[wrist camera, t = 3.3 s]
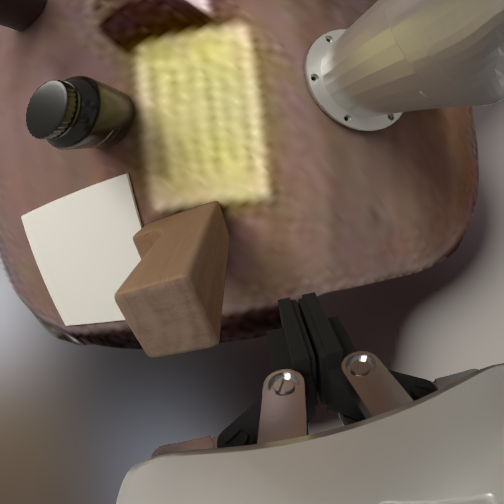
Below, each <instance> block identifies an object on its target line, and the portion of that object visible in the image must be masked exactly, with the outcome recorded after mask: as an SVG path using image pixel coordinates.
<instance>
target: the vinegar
mask: <svg viewBox="0 0 504 504" xmlns="http://www.w3.org/2000/svg"><path fill="white" fill-rule="evenodd" d="M45 2H46V0H0V25H3V26H6V27H9V28H12V29H15V30H18V31H20V30H23V29H25V28H26V27H28V26H29V25H30V24H31V23H33V22H34V20H35V19H36V18H37V17H38V16H39V14H40V13H41V11H42V9H43V7H44V5H45Z"/></svg>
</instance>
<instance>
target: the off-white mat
mask: <svg viewBox="0 0 504 504" xmlns="http://www.w3.org/2000/svg"><path fill="white" fill-rule="evenodd" d="M21 218H22V221H23V225H24V228H25V231H26V234H27V237H28V240H29V243H30V246H31V249H32V252H33V254H34V257H35V260H36V262H37V265H38V267H39V270H40V272H41V275H42V277H43V280H44V282H45V284H46V286H47V289H48V291H49V293H50V295H51V297H52V299H53V302H54V304H55V306H56V308H57V310H58V312H59V314H60V316H61V318H62V319H63V321H64V323H65V325H66V326H67V325H79V324H90V323H101V322H110V321H120V320H125V318H124V316H123V314H122V313H121V311H120V309H119V307H118V305H117V304H116V302H115V297H114V296H115V293H116V291H117V290H118V289H119V288H120V286H121V285H122V284H123V282H124V281H125V280H126V278H127V277H128V276H129V275H130V273H131V272H132V271H133V269H134V268H135V267H136V266H137V264H138V263H139V262H140V261H141V258H140V255H139V253H138V251H137V248H136V246H135V244H134V241H133V236H134V235H135V234H136V233H137V232H138V231H139V230H141V229H142V228H143V226H142V223H141V219H140V216H139V212H138V209H137V205H136V201H135V198H134V194H133V190H132V186H131V182H130V178H129V174H128V173H126V174H123V175H120V176H117V177H115V178H112V179H109V180H106V181H103V182H100V183H98V184H95V185H92V186H90V187H87V188H84V189H82V190H79V191H77V192H74V193H72V194H69V195H67V196H65V197H62V198H60V199H58V200H55V201H53V202H51V203H48V204H46V205H44V206H42V207H40V208H37V209H35V210H33V211H31V212H29V213H27V214H25V215H23V216H21Z"/></svg>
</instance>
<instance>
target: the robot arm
mask: <svg viewBox="0 0 504 504" xmlns="http://www.w3.org/2000/svg"><path fill="white" fill-rule="evenodd" d="M327 40H328V41H329V42H328V41H327ZM304 73H305V79H306V83H307V86H308V89H309V91H310V93H311V95H312V97H313V99H314V100H315V102H316V103H317V104H318V106H319V107H320V108H321V109H322V110H323V111H324V112H325V113H326V114H327V115H328V116H329V117H330V118H332V119H333V120H335V121H336V122H338V123H339V124H341V125H344V126H346V127H348V128H351V129H355V130H359V131H374V130H380V129H384V128H386V127H388V126H390V125H392V124H393V123H394V122H396V121H397V120H398V119H399V118H400V116H401V115H402V113H403V112H408V111H416V110H425V109H435V108H447V107H463V106H482V105H490V104H494V103H496V102H499V101H501V100H503V99H504V0H378V1H377V2H376V3H375V4H374V5H373V6H372V7H370V8H369V9H368V10H367V11H366V12H365V13H364V14H363V15H362V16H361V17H360V18H359V19H358V20H356V21H355V22H354V23H353V24H352V25H351V26H350V27H349V28H348V29H338V30H334V31H330V32H328V33H326V34H324V35H322V36H321V37H320V38H318V39H317V40H316V41H315V42H314V44H313V45H312V46H311V48H310V50H309V51H308V53H307V56H306V60H305V70H304ZM311 78H314V79H315V81H313V80H312V79H311ZM344 117H346V118H347V120H346V121H345V119H344ZM388 117H389V119H388ZM278 305H279V311H280V317H281V323H282V328H281V329H276V330H270V331H266V332H267V338H268V345H269V352H270V359H271V366H272V372H273V373H272V374H270V375H269V376H268V377H267V379H265V381H264V385H263V394H262V396H261V397H260V398H259V399H258V400H257V401H256V402H255V403H254V404H252V405H251V406H250V407H249V409H247V410H246V411H245V412H244V413H243V414H242V415H241V416H239V417H238V418H237V419H236V420H235V421H234V422H233V423H231V425H229V426H228V427H227V428H226V429H225V430H223V432H222V433H221V434H220V435H219V436H217V437H212V438H211V436H206V437H203V438H198V439H194V440H189V441H184V442H179V443H174V444H168V445H164V446H161V447H159V448H157V449H156V450H155V451H154V453H153V454H152V458H149V459H146V460H144V461H141V462H140V463H138V464H136V465H134V466H133V467H132V468H131V469H130V470H129V472H128V473H127V475H126V477H125V478H124V480H123V483H122V485H121V488H120V491H119V495H118V498H117V502H116V504H504V363H502V364H497V365H492V366H489V367H486V368H483V369H480V370H478V369H470V370H467V371H464V372H460V373H457V374H453V375H449V376H446V377H441V378H438V379H435V381H434V382H431V381H428V380H426V379H422V378H417V377H413V376H410V375H406V374H402V373H398V372H394V371H391V370H388V369H387V368H386V367H385V366H384V365H383V364H382V362H381V361H380V360H379V359H378V358H377V357H376V356H375V355H374V354H372V353H369V352H365V351H359V352H357V351H356V349H355V347H354V345H353V343H352V341H351V340H350V338H349V336H348V334H347V332H346V330H345V328H344V327H343V325H342V323H341V321H340V319H339V318H338V317H337V316H335V317H331V318H327V316H326V314H325V312H324V310H323V308H322V306H321V304H320V302H319V300H318V298H317V296H316V294H315V293H309V294H304V295H302V298H301V299H299V309H300V312H299V309H298V306H297V304H296V301H295V300H291V299H290V298H285V299H280V300H278ZM317 392H318V396H319V399H320V402H321V404H325V403H326V406H327V409H328V410H330V409H331V410H333V411H336V412H338V413H339V417H340V419H341V421H342V422H343V424H344V426H343V427H339V428H335V429H331V430H328V431H324V432H319V433H315V434H311V435H309V430H308V422H309V421H310V420H311V419H312V418H313V416H314V415H315V414H316V410H315V406H317V405H318V402H317Z"/></svg>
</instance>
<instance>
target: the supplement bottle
mask: <svg viewBox="0 0 504 504" xmlns="http://www.w3.org/2000/svg"><path fill="white" fill-rule="evenodd" d="M133 113H134V112H133V106H132V103H131V101H130V99H129V97H128V96H127V95H126V94H124V93H123V92H121V91H119V90H117V89H115V88H113V87H110V86H108V85H106V84H103V83H101V82H99V81H96V80H94V79H92V78H89V77H85V76H75V77H71V78H68V79H66V80H64V81H60V80H52V81H48V82H45V83H44V84H43V85H41V86H40V87H39V88H38V89H37V90H36V92H35V93H34V94H33V96H32V98H31V99H30V102H29V104H28V108H27V113H26V122H27V127H28V130H29V132H30V134H32V136H35V138H39V139H47V141H48V142H49V143H50V144H51V145H52V146H54V147H56V148H58V149H66V150H68V149H83V148H102V147H109V146H112V145H114V144H116V143H118V142H119V141H120V140H121V139H122V138H123V137H124V136H125V135H126V134H127V132H128V131H129V129H130V127H131V124H132V121H133Z"/></svg>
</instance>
